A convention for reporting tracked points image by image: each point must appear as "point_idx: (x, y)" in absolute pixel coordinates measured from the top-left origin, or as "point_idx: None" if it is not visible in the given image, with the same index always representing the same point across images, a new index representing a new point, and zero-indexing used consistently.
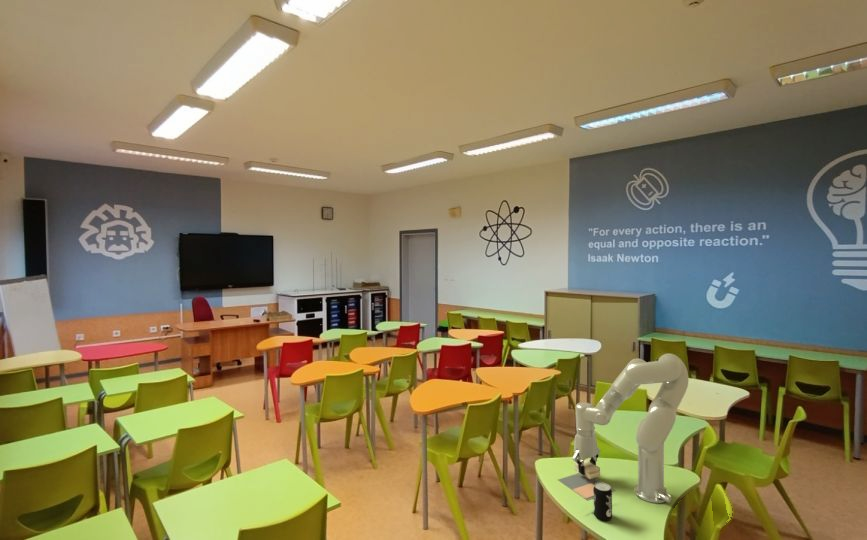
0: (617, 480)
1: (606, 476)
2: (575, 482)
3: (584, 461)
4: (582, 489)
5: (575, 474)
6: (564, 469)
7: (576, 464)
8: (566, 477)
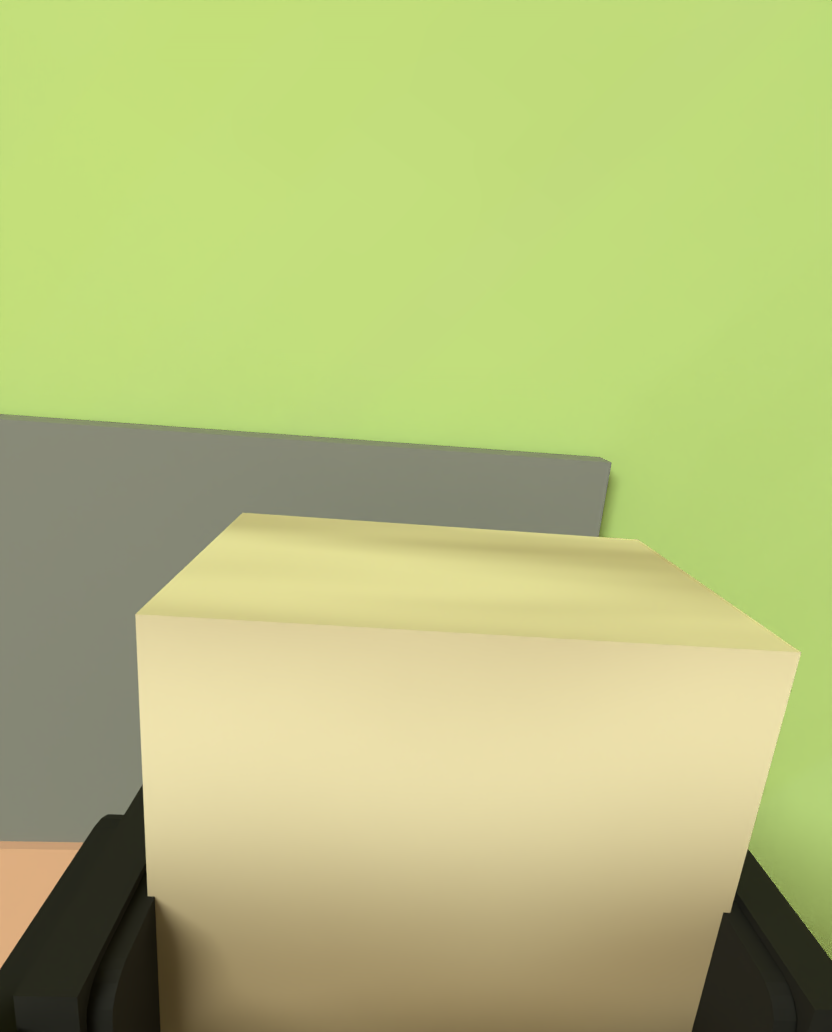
0: (809, 906)
1: (797, 756)
2: (62, 689)
3: (612, 770)
4: (4, 922)
5: (311, 452)
6: (300, 39)
7: (154, 701)
8: (4, 441)
